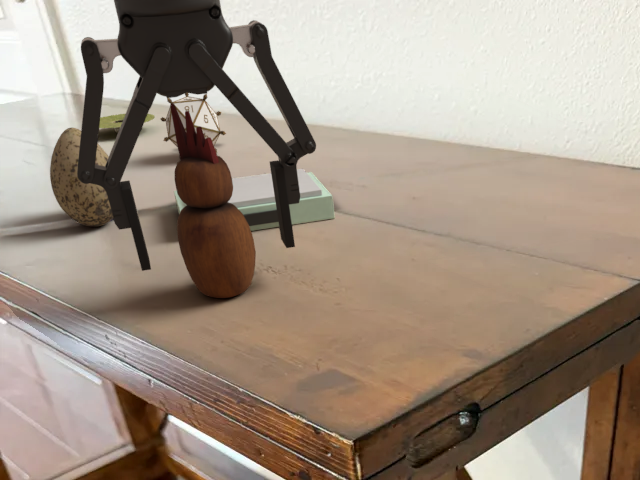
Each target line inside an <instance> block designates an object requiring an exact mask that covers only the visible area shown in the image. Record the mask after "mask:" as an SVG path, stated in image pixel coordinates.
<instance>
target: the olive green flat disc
mask: <svg viewBox="0 0 640 480" xmlns="http://www.w3.org/2000/svg"><path fill="white" fill-rule="evenodd" d="M125 114H126V113H120V114H111V115H106V116H102V117H101V116H100V125H99V129H114V132H115V133H116V134H118V132H119V130H120V127H121V124H122V122H123V119H124V117H125ZM154 119H155V114H151V113H148V114H147V117H146V119H145V122H144V124H145V123H148V122H151V121H153V120H154Z"/></svg>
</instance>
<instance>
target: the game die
mask: <svg viewBox="0 0 640 480" xmlns="http://www.w3.org/2000/svg"><path fill="white" fill-rule="evenodd" d="M189 95H190V93H185V94H184V97H182V98H179V99H176V100H174V101H173V100H172V98H167V97H166V100H167V101H166V102H168V104H174V105H175V107H176V110H177V112H178V114H179V117H180V119H181V121H182V124H183V126H184V128H185V131H186V120H185V111H189V113H190V116H191V119H192V122H193V125H194V128H195V131H196V127H199V126H200V127H201V128H202V131H203V134H204V137H205V139H206V138H209V137H210V138H211V140H212V142H213V145H214V148H215V151H216V154H218V149H217V148H216V147H215V145H216V143H217V142H218V140H219V137H220V135H222V136H226V135H227V133H226V132H225V130H221V127H220V123H219V118H218V117H220V116H221V114H222V111H220V110H218V111H216V112H215V110H214V109H213V108H212V107H211V106H210V104H209V103H208V102H207V101H206V100H207V99H208V93H207V94H203V96H202V98H200V97H194V96H189ZM159 120H160V121H161V122H163V123H164V122H165V126H166V133H167V136H166V137H163V140H162V141H163V142H166V143H167V142H169V141H170V142H171V143H172V144H173V145H174V146H176V148H178V146H177V141H176V135H175V130H174V124H173V119H172V113H171V107H170V106H169V108H168V111H167V114H166V117H163V116H161V118H159Z"/></svg>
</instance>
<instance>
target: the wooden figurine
mask: <svg viewBox="0 0 640 480" xmlns="http://www.w3.org/2000/svg"><path fill="white" fill-rule="evenodd" d="M169 104H170V103H169ZM170 107H171V113H172V119H173V124H174V130H175V135H176V141H177V146H178V147H177V146H176V147H177V151H178V157H179V161H177V162H176V165H175V168H174V184H175V188H176V190H177V193H178V196H179V197H180V199H181V200H182V201H183V202H184V203H185V204H186V205H187V206H185V207H184V208H183V209H182V210H181V212H180V214H179V213H178V217H177V221H176V234H177V242H178V247H179V251H180V254H181V257H182V259H183V262H184V265H185V269H186V270H187V272H188V275H189V277H190V278H191V281H192V283H193V284H194V286H195V287H196V288H197V290H198V291H199V292H200V293H202V294H203V295H205V296H207V297H211V298H216V299H228V298H233V297H235V296H239V295H241V294H243V293H245V292H246V291H247V290H248V289H249V287H250V286H251V285H252V282H253V278H254V274H255V268H256V256H257V254H256V252H257V251H256V246H255V241H254V239H255V238H254V236H253V234H252V231H251V230H250V227H249V225H248V223H247V221H246V219H245V217H244V215H243V214H242V213H241V211H240V210H239V209H238V208H237V207H236V206H235V205H233V204H232V203H229V202H228V201H229V200H230V198H231V196H232V192H233V182H232V178H233V177H232V173H231V171H230V168H229V165H228V164H227V162H226V161H225V160H224V159H223V158H222V157H221V156H220V155H218V153H216V151H215V148H216V147H215V146H214V145H213V142H212V140H211V138H210V137H209V138H206V139H205V137H204V134H203V131H202V128H201V127H200V126H199V127H196V131H195V128H194V125H193V122H192V119H191V116H190V113H189V111H185V120H186V131H185V128H184V126H183V124H182V121H181V119H180V117H179V114H178V112H177V110H176V107H175V105H174V104H170V105H169V108H170ZM176 190H175V191H176Z"/></svg>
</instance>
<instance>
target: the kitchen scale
mask: <svg viewBox="0 0 640 480" xmlns="http://www.w3.org/2000/svg"><path fill="white" fill-rule="evenodd" d="M297 175H298V183H299V190H300V200H299V203H296V204H290V205H289V208H290V215H291V222H292V226H294V225H299V224H300V225H301V224H307V223H314V222H319V221H327V220H332V219H335V218H336V217H335V216H336V215H335V206H334V198H333V194H332V193H331V192H330V191H329V190H328V189H327V188H326V187H325V186H324V184H323V183H322V182H321V181H320V180H319V179H318V178H317V177H316V175H315V174H314V173H313V172H312V171H308V172H307V171H306V170H305V169H304V168H298V169H297ZM232 182H233V192H232V196H231V198H230V200H229V201H228V202H229V203H232V204H233V205H235V206H236V207H237V208H238V209H239V210H240V211H241V213H242V214H243V215H244V217H245V219H246V221H247V223H248V225H249V227H250V230H251V232H253V231H259V230H265V229H272V228H274V229H275V228H279V222H278V215H277V208H276V202H275V195H274V188H273V182H272V175H271V172H269V173H261V174H253V175H246V176H239V177H232ZM173 195H174V198H175V204H176V208H177V213H178V215H179V214H180V212H181V210H182V209H183V208H184V207H185V206H187V205H186V204H185V203H184V202H183V201H182V200H181V199H180V197H179V196H178V193H177V190H173Z"/></svg>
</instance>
